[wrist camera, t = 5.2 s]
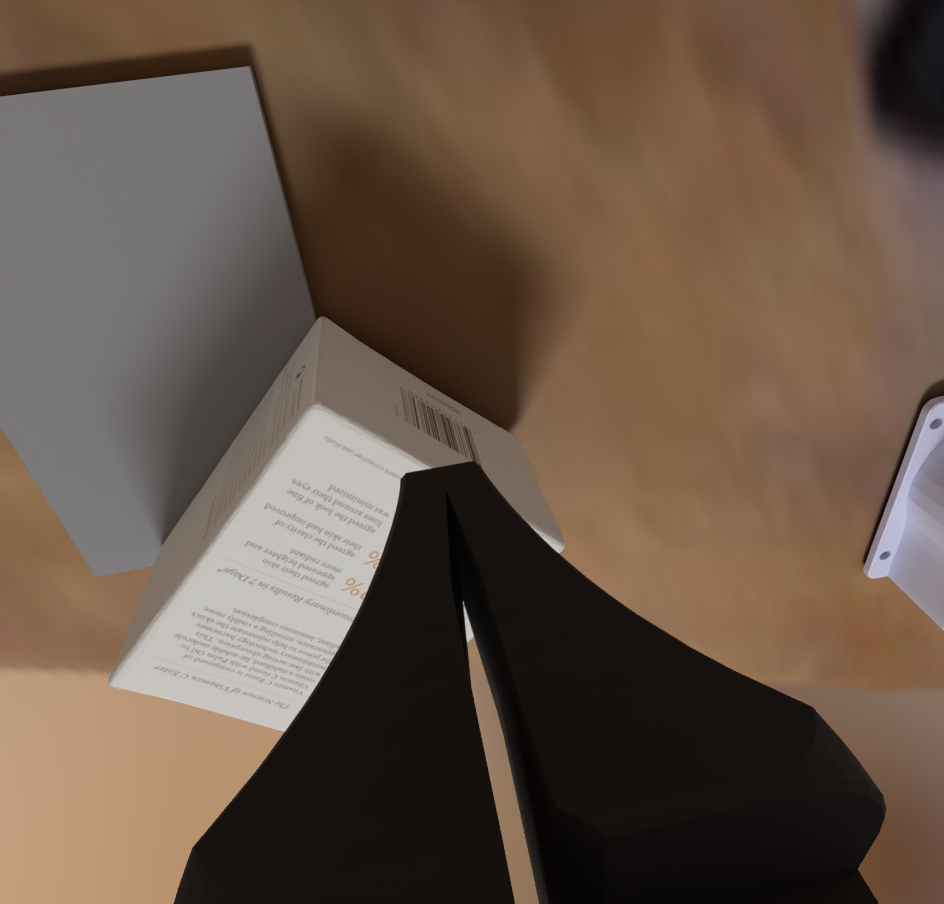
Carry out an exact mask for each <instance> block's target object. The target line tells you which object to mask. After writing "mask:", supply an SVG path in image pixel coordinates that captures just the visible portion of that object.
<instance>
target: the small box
mask: <svg viewBox="0 0 944 904" xmlns="http://www.w3.org/2000/svg"><path fill="white" fill-rule="evenodd" d="M470 461H475V462H476V463H478V464H479V465H480V466H481V467H482V469H483V470H484V472H485V473H486V475H487V476H488V478H489V479H490V480H491V482H492V483H493V484H494V486H495V487H496V488H497V489H498V491H499V492H500V493H501V494H502V495H503V497H504V498H505V499H506V500H507V501H508V503H509V504H510V505H511V506H512V507H513V508H514V509H515V510H516V512H517V513H518V514H519V515H520V516H521V517H522V518H523V519H524V520H525V521H526V522H527V523H528V524H529V525H530V526H531V527H532V528H533V529H534V530H535V531H536V532H537V533H538V534H539V535H540V536H541V537H542V538H543V539H544V540H545V541H546V542H547V543H548V544H549V545H550V546H551V547H552V548H553V549H554V550H556V551H557V552H558V553H559V554H560V552H561V551H562V550H563V549H564V546H565V544H564V539H563V537H562V534H561V531H560V529H559V527H558V525H557V522H556V520H555V518H554V516H553V514H552V511H551V509H550V507H549V505H548V503H547V500H546V498H545V496H544V494H543V492H542V490H541V487H540V485H539V483H538V481H537V479H536V476H535V474H534V472H533V470H532V467H531V465H530V463H529V460H528V458H527V455H526V453H525V451H524V448H523V446H522V444H521V441H520V440H519V439H518V438H517V437H515V436H514V435H512V434H510V433H509V432H507V431H506V430H504V429H502V428H501V427H498V426H497V425H495V424H493V423H492V422H490V421H488V420H487V419H485V418H483V417H482V416H480V415H478V414H477V413H475V412H473V411H471V410H470V409H468V408H466V407H465V406H463V405H461V404H460V403H458V402H456V401H455V400H453V399H451V398H450V397H448V396H446V395H444V394H443V393H441V392H439V391H438V390H436V389H434V388H433V387H431V386H430V385H428V384H426V383H425V382H423V381H422V380H420V379H418V378H417V377H415V376H414V375H412V374H410V373H409V372H407V371H406V370H404V369H402V368H401V367H399V366H398V365H396V364H395V363H393V362H392V361H390V360H389V359H387V358H385V357H384V356H382V355H380V354H379V353H377V352H376V351H374V350H373V349H371V348H369V347H368V346H366V345H365V344H363V343H362V342H360V341H359V340H357V339H356V338H354V337H353V336H352V335H350V334H349V333H347V332H346V331H344V330H343V329H342V328H340V327H339V326H337V325H336V324H335V323H333V322H332V321H330V320H329V319H328V318H326V317H323V316H322V317H319V318H318V319H317V321H316V322H315V323H314V325H313V326H312V328H311V329H310V330H309V332H308V333H307V335H306V336H305V338H304V339H303V341H302V342H301V344H300V345H299V347H298V348H297V350H296V351H295V352H294V354H293V355H292V357H291V358H290V360H289V361H288V363H287V364H286V366H285V367H284V368H283V370H282V371H281V373H280V374H279V376H278V377H277V378H276V380H275V381H274V383H273V384H272V386H271V387H270V389H269V390H268V392H267V393H266V395H265V396H264V398H263V399H262V401H261V402H260V403H259V405H258V406H257V408H256V409H255V411H254V412H253V414H252V415H251V416H250V418H249V419H248V421H247V423H246V424H245V425H244V427H243V428H242V430H241V431H240V433H239V434H238V435H237V437H236V438H235V440H234V441H233V443H232V444H231V446H230V447H229V449H228V450H227V451H226V453H225V454H224V456H223V457H222V459H221V460H220V462H219V463H218V465H217V466H216V468H215V469H214V471H213V472H212V473H211V475H210V476H209V478H208V479H207V481H206V482H205V484H204V485H203V487H202V488H201V490H200V491H199V493H198V494H197V495H196V497H195V498H194V500H193V501H192V502H191V504H190V505H189V507H188V508H187V510H186V511H185V512H184V514H183V515H182V517H181V518H180V520H179V521H178V523H177V524H176V526H175V527H174V529H173V530H172V532H171V533H170V535H169V536H168V538H167V539H166V541H165V542H164V544H163V545H162V547H161V549H160V551H159V554H158V556H157V559H156V561H155V564H154V566H153V569H152V571H151V574H150V577H149V579H148V582H147V584H146V587H145V589H144V592H143V595H142V597H141V600H140V602H139V605H138V607H137V610H136V612H135V615H134V617H133V620H132V623H131V625H130V628H129V630H128V633H127V635H126V638H125V640H124V643H123V645H122V648H121V650H120V653H119V655H118V658H117V660H116V663H115V665H114V668H113V670H112V673H111V675H110V678H109V685H110V686H112V687H115V688H120V689H124V690H129V691H134V692H137V693H142V694H147V695H152V696H157V697H161V698H164V699H169V700H173V701H176V702H180V703H184V704H187V705H191V706H194V707H198V708H202V709H206V710H210V711H213V712H216V713H220V714H224V715H228V716H231V717H234V718H238V719H241V720H245V721H248V722H252V723H255V724H259V725H262V726H267V727H270V728H273V729H277V730H280V731H283V732H285V731H286V729H287V728H288V727H289V725H290V724H291V722H292V721H293V720H294V718H295V717H296V715H297V714H298V713H299V711H300V710H301V708H302V707H303V706H304V704H305V703H306V701H307V700H308V698H309V696H310V695H311V693H312V692H313V690H314V689H315V687H316V686H317V684H318V682H319V681H320V679H321V677H322V676H323V674H324V672H325V671H326V669H327V667H328V666H329V664H330V662H331V661H332V659H333V657H334V656H335V654H336V652H337V650H338V649H339V647H340V645H341V643H342V641H343V640H344V638H345V636H346V634H347V632H348V630H349V628H350V626H351V624H352V623H353V621H354V619H355V616H356V614H357V612H358V610H359V608H360V606H361V604H362V602H363V600H364V598H365V595H366V593H367V591H368V588H369V586H370V583H371V581H372V578H373V576H374V574H375V571H376V569H377V566H378V564H379V561H380V559H381V556H382V553H383V550H384V547H385V544H386V541H387V538H388V535H389V532H390V529H391V526H392V522H393V518H394V515H395V511H396V507H397V502H398V497H399V491H400V479H401V478H402V477H403V476H404V475H405V473H408V472H414V471H420V470H425V469H431V468H436V467H442V466H447V465H453V464H458V463H464V462H470ZM463 606H464V602H463ZM464 617H465V627H466V637H467V643H468V642H469V641H470V640H471V639H472V638H473V637H474V635H473V632H472V628H471V625H470V622H469V619H468V615H467V612H466V609H465V606H464Z"/></svg>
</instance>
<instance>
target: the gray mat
mask: <svg viewBox="0 0 944 904" xmlns="http://www.w3.org/2000/svg"><path fill="white" fill-rule="evenodd" d="M316 321H317V318H316V314H315V310H314V306H313V302H312V298H311V294H310V290H309V287H308V283H307V279H306V275H305V271H304V267H303V263H302V259H301V256H300V252H299V248H298V244H297V240H296V236H295V232H294V228H293V225H292V221H291V217H290V213H289V209H288V205H287V201H286V197H285V193H284V190H283V186H282V182H281V178H280V174H279V170H278V166H277V162H276V159H275V155H274V151H273V147H272V143H271V139H270V135H269V131H268V128H267V124H266V120H265V116H264V112H263V108H262V104H261V100H260V96H259V93H258V89H257V85H256V81H255V77H254V73H253V69H252V66H247V67H239V68H230V69H222V70H214V71H206V72H198V73H189V74H181V75H173V76H165V77H157V78H148V79H140V80H132V81H124V82H116V83H107V84H99V85H91V86H83V87H75V88H66V89H58V90H50V91H42V92H34V93H25V94H17V95H9V96H1V97H0V427H1V429H2V430H3V432H4V434H5V435H6V437H7V438H8V440H9V441H10V443H11V445H12V446H13V448H14V449H15V451H16V452H17V454H18V456H19V457H20V459H21V460H22V462H23V463H24V465H25V467H26V468H27V470H28V471H29V473H30V474H31V476H32V478H33V479H34V481H35V482H36V484H37V485H38V487H39V489H40V490H41V492H42V493H43V495H44V497H45V498H46V500H47V501H48V503H49V504H50V506H51V508H52V509H53V511H54V512H55V514H56V515H57V517H58V519H59V520H60V522H61V523H62V525H63V526H64V528H65V530H66V531H67V533H68V534H69V536H70V537H71V539H72V541H73V542H74V544H75V545H76V547H77V549H78V550H79V552H80V553H81V555H82V556H83V558H84V560H85V561H86V563H87V564H88V566H89V567H90V569H91V571H92V572H93V574H94V575H95V577H98V576H103V575H108V574H114V573H119V572H124V571H130V570H135V569H141V568H146V567H151V566H154V564H155V561H156V559H157V556H158V554H159V551H160V549H161V547H162V545H163V544H164V542H165V541H166V539H167V538H168V536H169V535H170V533H171V532H172V530H173V529H174V527H175V526H176V524H177V523H178V521H179V520H180V518H181V517H182V515H183V514H184V512H185V511H186V510H187V508H188V507H189V505H190V504H191V502H192V501H193V500H194V498H195V497H196V495H197V494H198V493H199V491H200V490H201V488H202V487H203V485H204V484H205V482H206V481H207V479H208V478H209V476H210V475H211V473H212V472H213V471H214V469H215V468H216V466H217V465H218V463H219V462H220V460H221V459H222V457H223V456H224V454H225V453H226V451H227V450H228V449H229V447H230V446H231V444H232V443H233V441H234V440H235V438H236V437H237V435H238V434H239V433H240V431H241V430H242V428H243V427H244V425H245V424H246V423H247V421H248V419H249V418H250V416H251V415H252V414H253V412H254V411H255V409H256V408H257V406H258V405H259V403H260V402H261V401H262V399H263V398H264V396H265V395H266V393H267V392H268V390H269V389H270V387H271V386H272V384H273V383H274V381H275V380H276V378H277V377H278V376H279V374H280V373H281V371H282V370H283V368H284V367H285V366H286V364H287V363H288V361H289V360H290V358H291V357H292V355H293V354H294V352H295V351H296V350H297V348H298V347H299V345H300V344H301V342H302V341H303V339H304V338H305V336H306V335H307V333H308V332H309V330H310V329H311V328H312V326H313V325H314V323H315V322H316Z"/></svg>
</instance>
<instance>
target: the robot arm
mask: <svg viewBox="0 0 944 904" xmlns="http://www.w3.org/2000/svg"><path fill="white" fill-rule="evenodd" d="M863 571H864V573H865V574H866V575H867V576H868V577H869V578H880V577H885V576H888V577H889V578H890V579H891V580H893V581H894V582H895V583H896V584H897V585H898V586H899V587H900V588H901V589H902V590H903V591H904V592H905V593H906V594H907V595H908V596H909V597H910V598H911V599H912V600H913V601H914V602H915V603H916V604H917V605H918V606H919V607H920V608H921V609H922V610H923V611H924V612H925V613H926V614H927V615H928V616H929V617H931V618H932V619H933V620H934V621H935V622H936V623H937V624H938V625H939V626H940V627H941V628H942V629H943V630H944V396H940V397H936V398H933V399H931V400H930V401H928V402H927V403H926V404H925V405H924V406H923V408H922V410H921V413H920V416H919V418H918V421H917V424H916V426H915V429H914V432H913V435H912V437H911V440H910V443H909V446H908V448H907V451H906V454H905V456H904V459H903V462H902V465H901V467H900V470H899V473H898V476H897V478H896V481H895V484H894V486H893V489H892V492H891V495H890V497H889V500H888V503H887V505H886V508H885V511H884V514H883V516H882V519H881V522H880V525H879V527H878V530H877V533H876V535H875V538H874V541H873V544H872V546H871V549H870V552H869V555H868V557H867V560H866V563H865V565H864V569H863ZM463 602H464V606H465V609H466V612H467V615H468V619H469V622H470V625H471V628H472V632H473V635H474V638H475V641H476V645H477V648H478V651H479V654H480V657H481V661H482V664H483V667H484V670H485V673H486V677H487V680H488V683H489V686H490V689H491V692H492V696H493V699H494V702H495V705H496V709H497V712H498V716H499V720H500V724H501V727H502V731H503V734H504V739H505V744H506V749H507V753H508V758H509V762H510V767H511V772H512V777H513V781H514V785H515V791H516V795H517V800H518V804H519V809H520V814H521V819H522V824H523V828H524V833H525V838H526V842H527V847H528V852H529V856H530V861H531V866H532V871H533V876H534V881H535V886H536V890H537V895H538V900H539V904H878V902H877V900H876V898H875V897H874V895H873V894H872V892H871V890H870V889H869V887H868V885H867V884H866V882H865V881H864V879H863V877H862V876H861V874H860V873H859V871H858V868H859V865H860V864H861V863H862V861H863V859H864V857H865V856H866V854H867V852H868V851H869V849H870V847H871V846H872V844H873V842H874V841H875V839H876V837H877V836H878V834H879V832H880V829H881V826H882V823H883V821H884V818H885V812H886V806H885V802H884V798H883V794H882V793H881V792H880V790H879V789H878V787H877V786H876V785H875V783H874V782H873V781H872V779H871V778H870V777H869V775H868V774H867V772H866V771H865V769H864V768H863V767H862V765H861V764H860V762H859V761H858V760H857V758H856V757H855V756H854V755H853V753H852V752H851V751H850V750H849V748H848V747H847V746H846V745H845V744H844V742H843V741H842V740H841V739H840V738H839V737H838V735H837V734H836V733H835V732H834V731H833V730H832V729H831V728H830V726H829V725H828V724H827V723H826V722H825V721H824V720H823V719H822V717H821V716H820V715H819V714H818V713H817V712H816V710H815V709H814V708H813V707H811V706H809V705H807V704H805V703H803V702H801V701H798V700H796V699H794V698H792V697H790V696H787V695H785V694H783V693H781V692H779V691H777V690H775V689H772V688H770V687H768V686H766V685H764V684H762V683H759V682H757V681H755V680H753V679H751V678H749V677H747V676H744V675H742V674H740V673H738V672H736V671H734V670H732V669H730V668H728V667H726V666H724V665H722V664H720V663H718V662H717V661H715V660H713V659H711V658H709V657H707V656H705V655H704V654H702V653H700V652H698V651H696V650H694V649H692V648H691V647H689V646H687V645H686V644H684V643H683V642H681V641H679V640H678V639H676V638H675V637H673V636H671V635H670V634H668V633H666V632H665V631H663V630H662V629H660V628H658V627H657V626H655V625H653V624H652V623H650V622H649V621H647V620H645V619H644V618H642V617H640V616H639V615H637V614H636V613H634V612H633V611H632V610H630V609H629V608H627V607H626V606H624V605H623V604H622V603H620V602H619V601H617V600H616V599H615V598H613V597H612V596H610V595H609V594H608V593H606V592H605V591H604V590H602V589H601V588H600V587H598V586H597V585H596V584H595V583H593V582H592V581H591V580H589V579H588V578H587V577H586V576H584V575H583V574H582V573H581V572H579V571H578V570H577V569H576V568H575V567H574V566H572V565H571V564H570V563H569V562H568V561H567V560H565V559H564V558H563V557H562V556H561V555H560V554H559V553H558V552H557V551H556V550H554V549H553V548H552V547H551V546H550V545H549V544H548V543H547V542H546V541H545V540H544V539H543V538H542V537H541V536H540V535H539V534H538V533H537V532H536V531H535V530H534V529H533V528H532V527H531V526H530V525H529V524H528V523H527V522H526V521H525V520H524V519H523V518H522V517H521V516H520V515H519V514H518V513H517V512H516V510H515V509H514V508H513V507H512V506H511V505H510V504H509V503H508V501H507V500H506V499H505V498H504V497H503V495H502V494H501V493H500V492H499V491H498V489H497V488H496V487H495V486H494V484H493V483H492V482H491V480H490V479H489V478H488V476H487V475H486V473H485V472H484V470H483V469H482V467H481V466H480V465H479V464H478V463H476V462H475V461H470V462H464V463H458V464H453V465H447V466H442V467H436V468H431V469H425V470H420V471H414V472H408V473H405V475H404V476H403V477H402V478H401V479H400V491H399V497H398V502H397V507H396V511H395V515H394V518H393V522H392V526H391V529H390V532H389V535H388V538H387V541H386V544H385V547H384V550H383V553H382V556H381V559H380V561H379V564H378V566H377V569H376V571H375V574H374V576H373V578H372V581H371V583H370V586H369V588H368V591H367V593H366V595H365V598H364V600H363V602H362V604H361V606H360V608H359V610H358V612H357V614H356V616H355V619H354V621H353V623H352V624H351V626H350V628H349V630H348V632H347V634H346V636H345V638H344V640H343V641H342V643H341V645H340V647H339V649H338V650H337V652H336V654H335V656H334V657H333V659H332V661H331V662H330V664H329V666H328V667H327V669H326V671H325V672H324V674H323V676H322V677H321V679H320V681H319V682H318V684H317V686H316V687H315V689H314V690H313V692H312V693H311V695H310V696H309V698H308V700H307V701H306V703H305V704H304V706H303V707H302V708H301V710H300V711H299V713H298V714H297V715H296V717H295V718H294V720H293V721H292V722H291V724H290V725H289V727H288V728H287V729H286V731H285V732H284V734H283V735H282V736H281V738H280V739H279V741H278V742H277V743H276V745H275V746H274V748H273V749H272V750H271V752H270V753H269V755H268V756H267V757H266V759H265V760H264V761H263V763H262V764H261V765H260V767H259V768H258V769H257V770H256V772H255V773H254V774H253V776H252V777H251V778H250V779H249V780H248V782H247V783H246V784H245V785H244V786H243V788H242V789H241V790H240V791H239V792H238V794H237V795H236V796H235V797H234V799H233V800H232V801H231V802H230V803H229V805H228V806H227V807H226V808H225V809H224V811H223V812H222V813H221V814H220V816H219V817H218V818H217V819H216V820H215V822H214V823H213V824H212V825H211V826H210V828H209V829H208V830H207V831H206V833H205V834H204V835H203V836H202V837H201V838H200V840H199V841H198V842H197V843H196V844H195V845H194V847H193V848H192V851H191V854H190V856H189V859H188V861H187V865H186V867H185V870H184V873H183V876H182V879H181V882H180V885H179V888H178V891H177V894H176V898H175V901H174V904H515V902H514V896H513V891H512V886H511V881H510V876H509V871H508V866H507V861H506V855H505V850H504V845H503V841H502V835H501V830H500V825H499V820H498V815H497V811H496V806H495V801H494V797H493V792H492V786H491V782H490V777H489V772H488V767H487V762H486V757H485V752H484V747H483V743H482V738H481V733H480V728H479V723H478V718H477V713H476V708H475V704H474V698H473V693H472V689H471V679H470V669H469V658H468V648H467V637H466V627H465V617H464V606H463Z"/></svg>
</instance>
